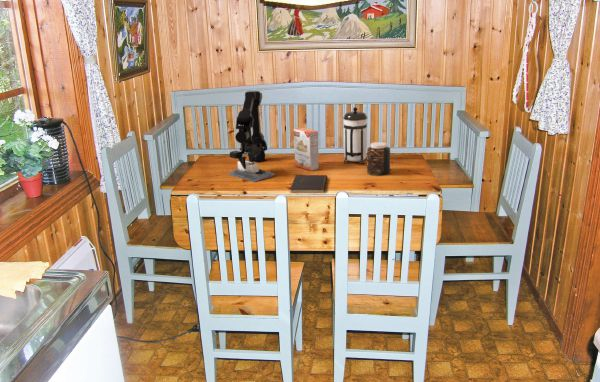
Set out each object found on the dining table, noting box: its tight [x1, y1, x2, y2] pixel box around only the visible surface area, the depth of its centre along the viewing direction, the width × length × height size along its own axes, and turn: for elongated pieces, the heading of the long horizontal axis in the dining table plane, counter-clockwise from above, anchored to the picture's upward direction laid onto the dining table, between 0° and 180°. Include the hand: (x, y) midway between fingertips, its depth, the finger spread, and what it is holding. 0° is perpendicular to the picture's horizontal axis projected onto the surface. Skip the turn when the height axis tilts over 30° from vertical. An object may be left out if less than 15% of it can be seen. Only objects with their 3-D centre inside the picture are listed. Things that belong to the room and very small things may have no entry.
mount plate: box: [227, 168, 276, 183], centre depth 290 cm, size 21×14×3 cm, turn 44°
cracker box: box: [293, 126, 320, 172], centre depth 297 cm, size 14×6×21 cm, turn 37°
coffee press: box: [342, 107, 368, 165], centre depth 303 cm, size 17×16×30 cm
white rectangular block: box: [237, 160, 260, 173], centre depth 290 cm, size 12×4×4 cm, turn 44°
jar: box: [366, 141, 391, 176], centre depth 284 cm, size 12×12×15 cm
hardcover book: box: [289, 174, 328, 194], centre depth 270 cm, size 16×23×2 cm
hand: (248, 168), depth 291 cm, fingers open, 4 cm apart
